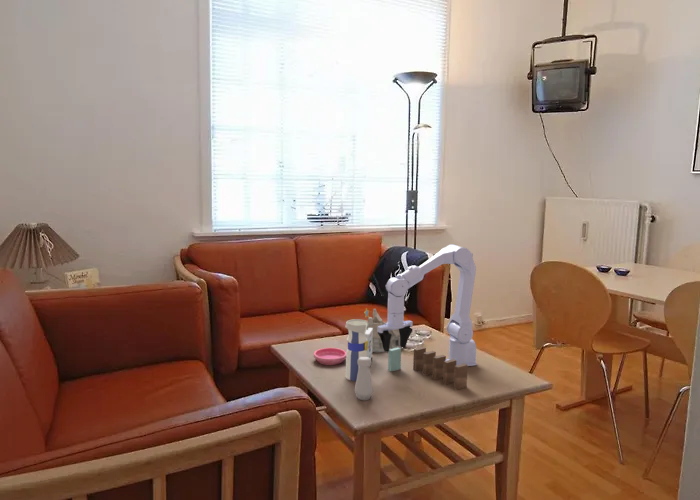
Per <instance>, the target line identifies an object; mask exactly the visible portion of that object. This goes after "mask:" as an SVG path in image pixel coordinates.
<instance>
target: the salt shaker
mask: <svg viewBox="0 0 700 500" xmlns="http://www.w3.org/2000/svg"><path fill="white" fill-rule="evenodd" d="M357 363H358V366H359V370H358V375H357V380H356V381H355V386H354V393H355V395H356V398H357V399H358V400H359V401H368V400H370V399H371V397H372V395H373V394H374V388H373V381H372V376H371V369H370V366H371V365H372V358H371V359H370V358H369V357H360V358H359V359H358V360H357Z"/></svg>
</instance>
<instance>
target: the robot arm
mask: <svg viewBox="0 0 700 500" xmlns="http://www.w3.org/2000/svg"><path fill="white" fill-rule="evenodd" d="M473 257H474V255H473V252H472V251H470V250H469V248H467V247H465V246H464V247H463V246H460V245H456V244H455V243H450V244H448V245H446V246H445V247H442V248H441V249H440V250H439V251H438V252H437V253H435V254H434V255H433V256H431V257H430V258H429V259H427V260H426V261H424V262H423V263H422V264H420V265H419V266H418V265H413V266H411V265H409V266H408V267H407V270H405V271H403V272H402V273H398V274H397V275H396V277H394V276H393V277H391V278H389V279H388V280H387V282H386V284H385V290H386V292H387V314H386V315H387V317H386V319H387V321H386V322H387V323H386V324H384V325H381V326H378V327H377V332H378V335H379V336H380V338H381V341H382V344H383V349H384V352H386V353H389V346H390V339H391V336H392V334H390V333H389V332H388V331H391V330H396V329H399V333H400V347H403V348H402V349H405V348H406V347H407V343H408V341H409V338H410V335H411V334H412V333H413V321H412V320H404V318H405V317H404V315H405V295H406V293H407V292H408V290H409V289H410V288H412V287H413V286H414V285H416V284H418V283H420V282H421V281H423V279H424V278H425V277H424V276H425V275H427V274H428V273H429V272H431V271H432V270H434V269H437V268H438V267H440V266H442V265H443V264H444V265H445V264H446V265H454V266H455V267H456V268H457V269H458V271H459V278H458V284H457V293H456V297H455V298H456V299H455V305H454V312H453V314H451V316H450V319H449V321H448V322H447V326H446V331H447V333H448V334H449V343H448V345H449V347H448V358H446V361H447V360H451V359H454V360H457V361H456V365H460V364H467V365H468V367H472V366H477V345H476V342H475V340H474V339H473V335H474V331H473V322H472V319H471V317H470V314H471V306H472V299H473V294H474V287H475V285H474V284H475V278H476V271H477V267H476V264H475V263H476V262H475V261H474V258H473Z"/></svg>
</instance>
